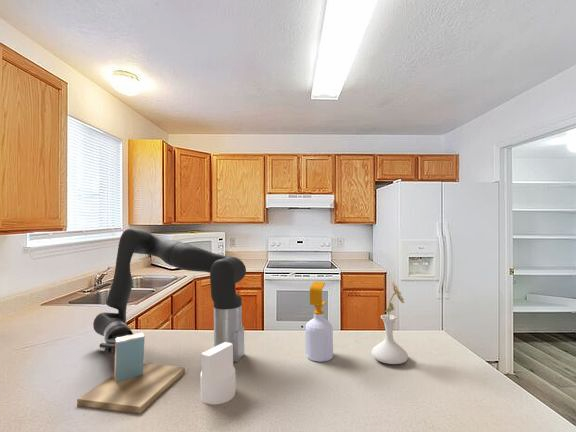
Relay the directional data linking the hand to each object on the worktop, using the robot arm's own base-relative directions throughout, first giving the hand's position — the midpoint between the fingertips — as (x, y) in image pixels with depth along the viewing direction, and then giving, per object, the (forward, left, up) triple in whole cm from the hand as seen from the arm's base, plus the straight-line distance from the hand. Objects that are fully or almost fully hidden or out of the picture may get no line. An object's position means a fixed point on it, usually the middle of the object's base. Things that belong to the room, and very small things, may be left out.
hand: (128, 352), depth 87 cm
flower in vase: (-75, -28, -9) cm, 80 cm away
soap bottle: (-52, -26, -9) cm, 59 cm away
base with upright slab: (-28, +1, -9) cm, 29 cm away
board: (-4, +2, -9) cm, 10 cm away
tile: (0, 0, -7) cm, 7 cm away
